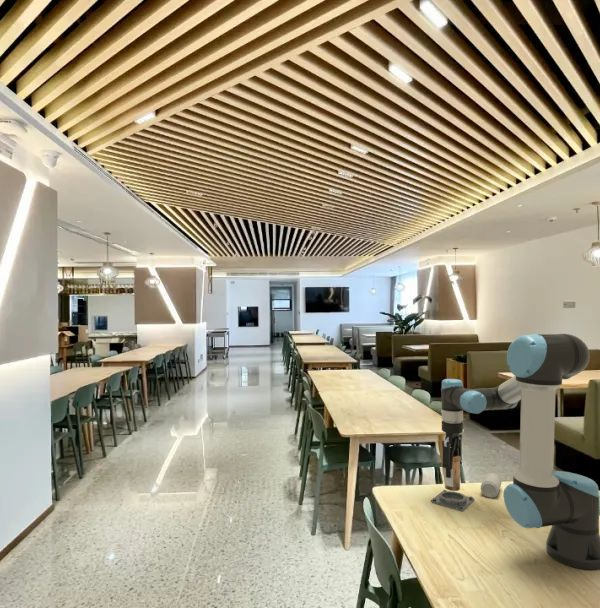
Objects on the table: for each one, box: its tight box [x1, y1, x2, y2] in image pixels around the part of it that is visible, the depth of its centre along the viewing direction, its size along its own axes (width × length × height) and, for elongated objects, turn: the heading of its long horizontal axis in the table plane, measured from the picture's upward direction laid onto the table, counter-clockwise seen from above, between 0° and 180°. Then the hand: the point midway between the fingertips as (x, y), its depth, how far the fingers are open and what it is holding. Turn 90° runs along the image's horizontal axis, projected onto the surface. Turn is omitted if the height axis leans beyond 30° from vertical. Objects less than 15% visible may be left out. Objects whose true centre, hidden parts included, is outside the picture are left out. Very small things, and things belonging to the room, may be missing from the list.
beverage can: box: [480, 472, 502, 499], centre depth 180 cm, size 6×6×12 cm
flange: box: [430, 489, 476, 512], centre depth 172 cm, size 12×12×2 cm
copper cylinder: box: [444, 454, 461, 492], centre depth 172 cm, size 6×6×12 cm
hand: (452, 483), depth 172 cm, fingers closed on copper cylinder, 5 cm apart
